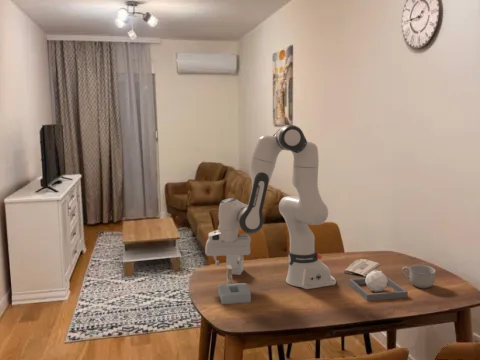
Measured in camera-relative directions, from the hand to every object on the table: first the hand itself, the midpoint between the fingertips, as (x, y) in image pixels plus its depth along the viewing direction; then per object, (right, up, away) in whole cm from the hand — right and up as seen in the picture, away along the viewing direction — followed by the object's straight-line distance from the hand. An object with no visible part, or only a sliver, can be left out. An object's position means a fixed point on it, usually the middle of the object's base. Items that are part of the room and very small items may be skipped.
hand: (227, 264), depth 197 cm
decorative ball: (+64, -10, -6) cm, 65 cm away
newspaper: (+65, -7, +21) cm, 69 cm away
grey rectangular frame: (+65, -10, -7) cm, 66 cm away
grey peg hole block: (+3, -11, -13) cm, 18 cm away
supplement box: (+3, -7, +17) cm, 18 cm away
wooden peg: (+1, -9, +1) cm, 9 cm away
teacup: (+85, -9, -1) cm, 86 cm away
